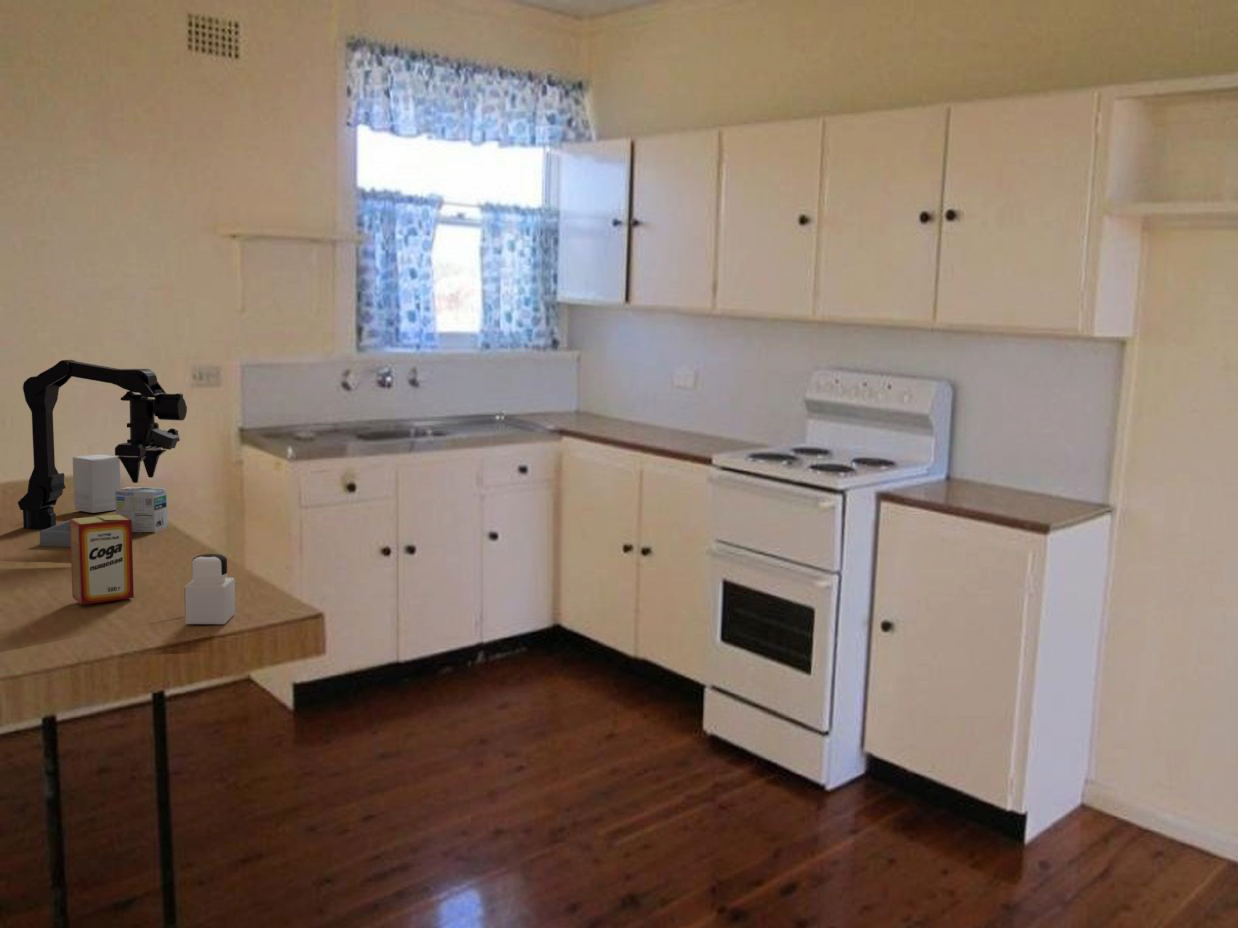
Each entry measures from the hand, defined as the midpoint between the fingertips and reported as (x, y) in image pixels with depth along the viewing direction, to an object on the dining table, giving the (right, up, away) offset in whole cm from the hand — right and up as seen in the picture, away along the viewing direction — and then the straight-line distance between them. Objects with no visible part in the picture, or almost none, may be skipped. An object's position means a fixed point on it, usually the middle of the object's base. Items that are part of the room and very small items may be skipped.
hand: (143, 480), depth 274 cm
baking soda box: (+20, -22, -62) cm, 69 cm away
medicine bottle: (+45, -25, -75) cm, 91 cm away
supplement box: (-25, -9, +27) cm, 38 cm away
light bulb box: (-1, -13, +2) cm, 13 cm away
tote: (-8, -14, -12) cm, 21 cm away
